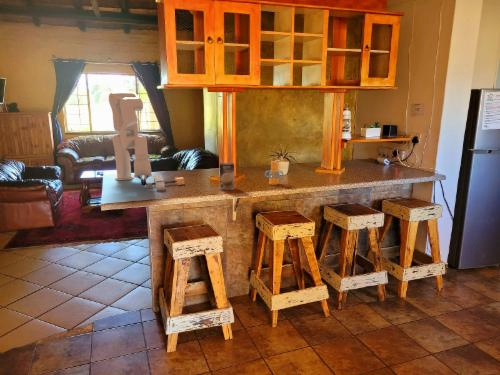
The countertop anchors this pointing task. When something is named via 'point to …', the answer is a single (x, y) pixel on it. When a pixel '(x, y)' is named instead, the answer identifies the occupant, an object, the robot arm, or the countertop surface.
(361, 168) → the countertop surface
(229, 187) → the coffee box
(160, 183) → the motor housing
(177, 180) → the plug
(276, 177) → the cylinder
